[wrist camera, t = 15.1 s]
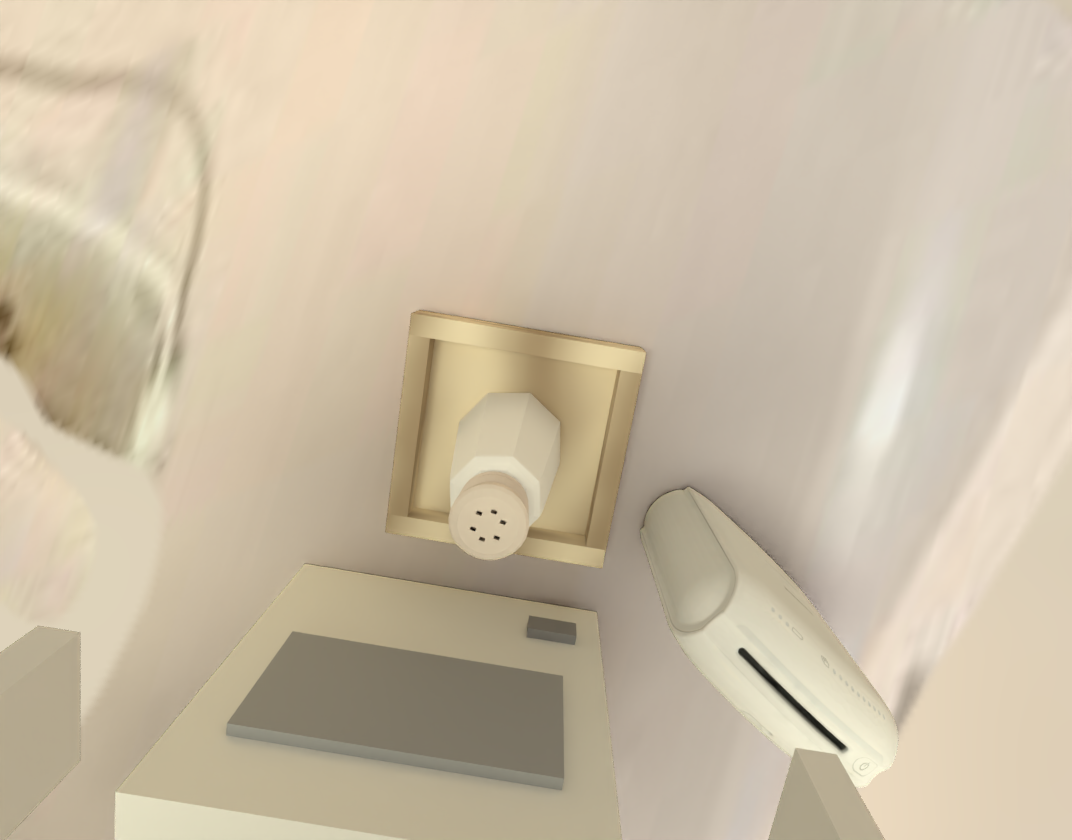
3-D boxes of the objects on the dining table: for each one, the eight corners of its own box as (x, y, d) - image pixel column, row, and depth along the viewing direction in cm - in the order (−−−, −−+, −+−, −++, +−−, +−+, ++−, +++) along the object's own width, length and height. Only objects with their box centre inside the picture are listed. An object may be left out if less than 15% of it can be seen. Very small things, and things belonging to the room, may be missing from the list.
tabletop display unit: (292, 699, 38) (111, 1000, 23) (305, 555, 36) (115, 778, 21) (569, 745, 38) (577, 1075, 23) (598, 603, 36) (628, 861, 21)
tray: (394, 517, 36) (385, 532, 34) (419, 310, 33) (411, 313, 31) (599, 551, 36) (602, 568, 34) (641, 347, 33) (646, 352, 31)
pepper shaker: (479, 371, 33) (441, 425, 22) (581, 412, 33) (592, 485, 23) (441, 468, 34) (387, 564, 23) (539, 507, 34) (531, 619, 24)
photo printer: (817, 599, 36) (948, 770, 24) (756, 649, 37) (852, 840, 25) (686, 469, 34) (754, 582, 22) (625, 524, 35) (660, 662, 23)
